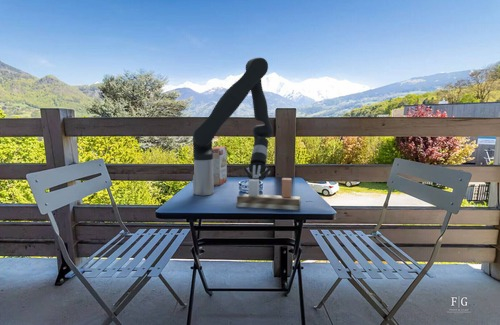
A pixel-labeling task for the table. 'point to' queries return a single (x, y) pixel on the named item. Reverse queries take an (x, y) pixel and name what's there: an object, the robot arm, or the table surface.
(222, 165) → the cracker box
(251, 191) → the white rectangular block
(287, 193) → the terracotta plug
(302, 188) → the table surface
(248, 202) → the press stand
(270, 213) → the table surface
